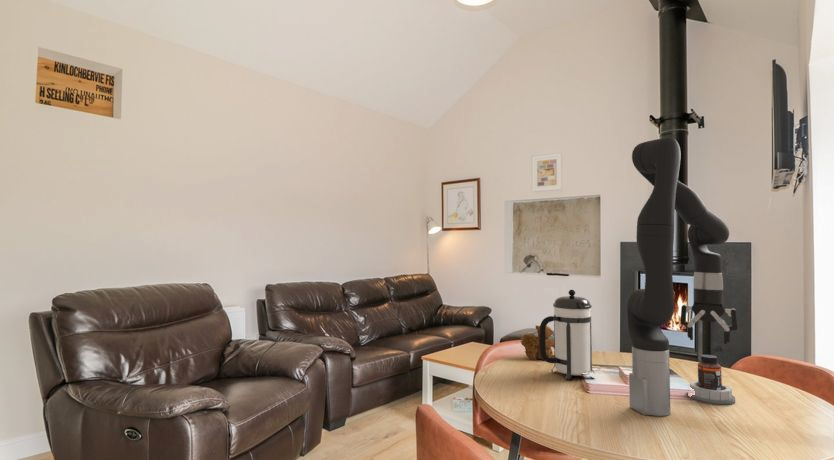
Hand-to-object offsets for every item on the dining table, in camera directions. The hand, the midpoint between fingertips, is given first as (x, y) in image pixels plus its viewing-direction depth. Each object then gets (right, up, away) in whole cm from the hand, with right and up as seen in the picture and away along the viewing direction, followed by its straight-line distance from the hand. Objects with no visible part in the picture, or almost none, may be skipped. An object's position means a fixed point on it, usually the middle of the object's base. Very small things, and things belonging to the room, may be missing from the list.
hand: (708, 341), depth 135 cm
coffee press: (-34, -18, +22) cm, 44 cm away
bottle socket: (0, -17, -1) cm, 17 cm away
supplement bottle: (0, -16, -1) cm, 16 cm away
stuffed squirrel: (-38, -19, +47) cm, 63 cm away
